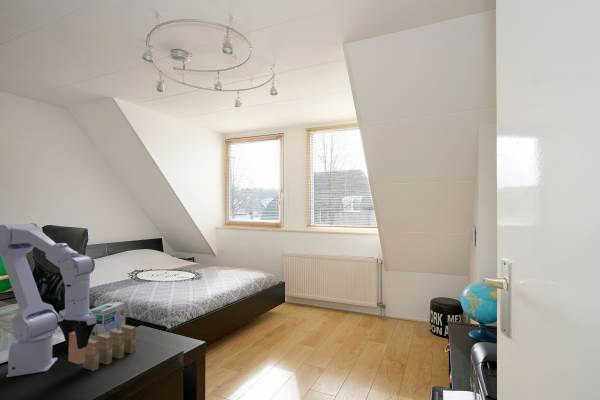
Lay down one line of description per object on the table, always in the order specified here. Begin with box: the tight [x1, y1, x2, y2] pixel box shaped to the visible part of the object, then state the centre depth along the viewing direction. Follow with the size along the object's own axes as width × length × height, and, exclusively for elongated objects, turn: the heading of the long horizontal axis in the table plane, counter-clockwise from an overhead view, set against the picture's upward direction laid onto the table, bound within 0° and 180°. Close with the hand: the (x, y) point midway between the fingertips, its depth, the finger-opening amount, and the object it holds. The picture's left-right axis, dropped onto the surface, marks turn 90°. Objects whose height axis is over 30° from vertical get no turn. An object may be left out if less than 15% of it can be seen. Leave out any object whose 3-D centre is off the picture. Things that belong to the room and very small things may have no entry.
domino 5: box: [121, 324, 136, 354], centre depth 103 cm, size 2×5×8 cm, turn 65°
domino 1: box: [68, 331, 85, 365], centre depth 89 cm, size 2×5×8 cm, turn 65°
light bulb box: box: [90, 301, 126, 340], centre depth 117 cm, size 11×7×11 cm, turn 168°
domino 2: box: [82, 338, 100, 371], centre depth 92 cm, size 2×5×8 cm, turn 65°
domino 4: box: [109, 329, 125, 360], centre depth 100 cm, size 2×5×8 cm, turn 65°
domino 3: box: [97, 334, 113, 365], centre depth 96 cm, size 2×5×8 cm, turn 65°
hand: (76, 345), depth 89 cm, fingers closed on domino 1, 5 cm apart
